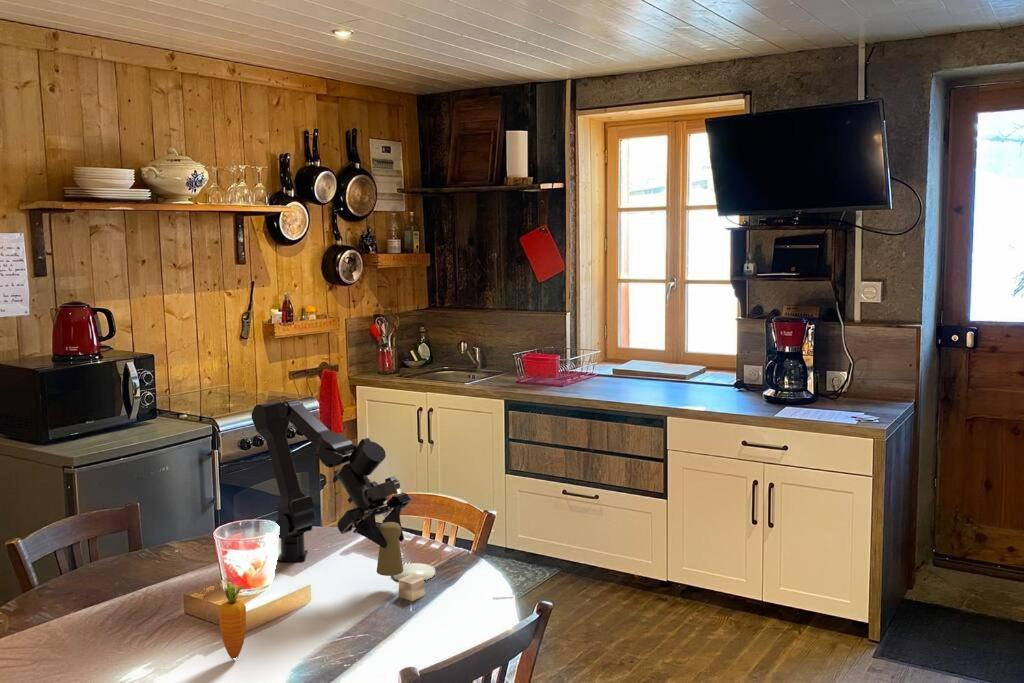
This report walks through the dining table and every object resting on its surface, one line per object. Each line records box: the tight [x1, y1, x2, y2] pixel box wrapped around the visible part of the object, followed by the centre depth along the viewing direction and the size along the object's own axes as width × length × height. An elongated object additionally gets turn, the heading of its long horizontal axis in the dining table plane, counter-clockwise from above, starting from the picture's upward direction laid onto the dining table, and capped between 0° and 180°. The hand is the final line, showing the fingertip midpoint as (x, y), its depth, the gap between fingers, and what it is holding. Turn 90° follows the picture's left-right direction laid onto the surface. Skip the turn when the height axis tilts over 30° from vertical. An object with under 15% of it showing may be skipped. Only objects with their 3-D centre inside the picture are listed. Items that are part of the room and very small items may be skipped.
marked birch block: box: [398, 575, 426, 602], centre depth 198 cm, size 4×4×4 cm
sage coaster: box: [392, 562, 436, 582], centre depth 211 cm, size 10×10×1 cm
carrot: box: [218, 581, 247, 659], centre depth 168 cm, size 5×5×15 cm
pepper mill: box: [376, 522, 404, 577], centre depth 201 cm, size 6×6×11 cm
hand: (394, 543), depth 200 cm, fingers closed on pepper mill, 5 cm apart
